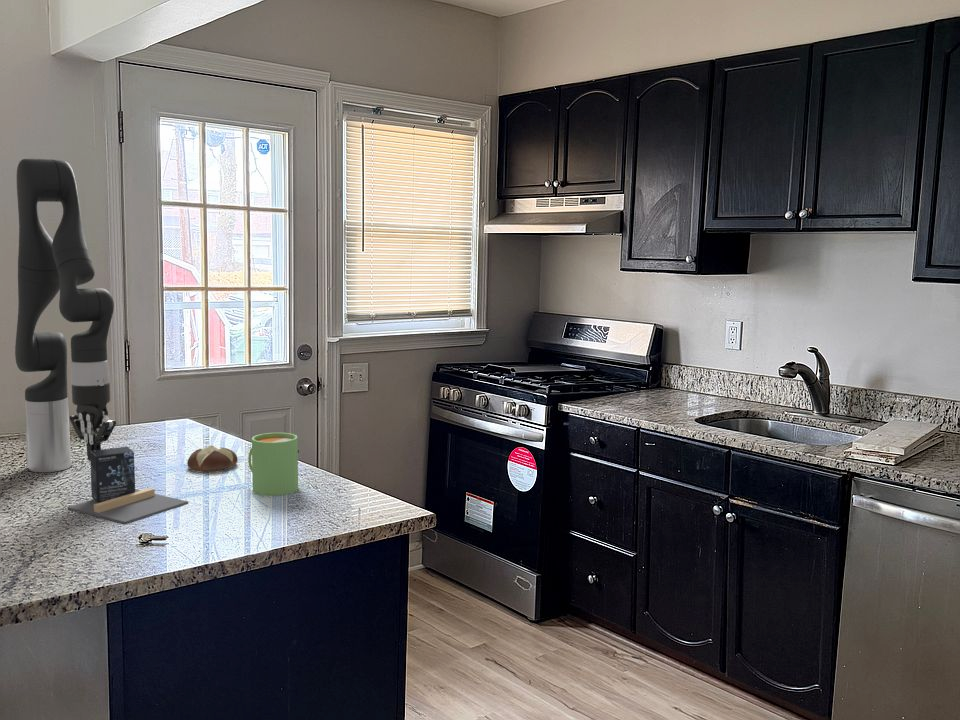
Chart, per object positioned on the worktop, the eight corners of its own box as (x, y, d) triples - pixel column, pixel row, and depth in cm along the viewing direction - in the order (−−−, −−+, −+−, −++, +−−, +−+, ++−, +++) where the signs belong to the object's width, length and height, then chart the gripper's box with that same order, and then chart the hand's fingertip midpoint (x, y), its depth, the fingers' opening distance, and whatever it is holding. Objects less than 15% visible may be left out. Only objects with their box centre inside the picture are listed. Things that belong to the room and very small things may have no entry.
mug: (308, 486, 199) (307, 435, 198) (279, 498, 190) (278, 444, 188) (264, 479, 205) (263, 429, 203) (234, 490, 195) (233, 438, 194)
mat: (67, 508, 180) (66, 500, 180) (131, 490, 194) (131, 482, 194) (125, 523, 171) (124, 514, 171) (188, 503, 185) (187, 494, 185)
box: (97, 504, 182) (95, 455, 180) (91, 498, 186) (89, 450, 185) (136, 498, 187) (134, 450, 185) (129, 492, 191) (127, 445, 190)
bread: (180, 470, 212) (179, 450, 211) (212, 460, 222) (211, 441, 222) (215, 476, 207) (215, 455, 207) (246, 465, 218) (246, 445, 217)
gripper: (55, 381, 186) (59, 459, 188) (95, 386, 179) (99, 468, 182) (86, 376, 192) (90, 452, 194) (125, 382, 186) (129, 460, 188)
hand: (94, 460), depth 188 cm, fingers closed
